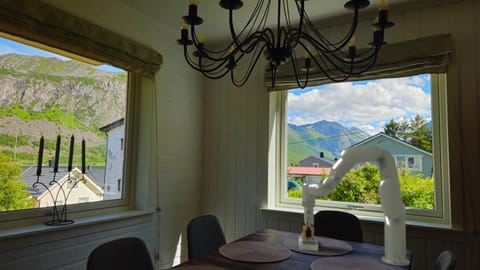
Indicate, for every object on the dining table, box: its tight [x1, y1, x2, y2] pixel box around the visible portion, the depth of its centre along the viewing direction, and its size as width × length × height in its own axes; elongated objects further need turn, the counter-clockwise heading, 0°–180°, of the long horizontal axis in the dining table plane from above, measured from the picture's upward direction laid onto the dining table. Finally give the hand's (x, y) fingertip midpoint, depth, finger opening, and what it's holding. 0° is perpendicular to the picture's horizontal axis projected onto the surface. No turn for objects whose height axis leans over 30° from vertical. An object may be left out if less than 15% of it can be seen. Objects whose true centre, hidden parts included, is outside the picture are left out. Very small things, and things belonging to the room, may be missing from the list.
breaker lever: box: [302, 225, 315, 241], centre depth 181 cm, size 2×6×8 cm, turn 81°
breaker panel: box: [298, 232, 319, 252], centre depth 184 cm, size 20×10×5 cm, turn 171°
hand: (308, 236), depth 181 cm, fingers closed on breaker lever, 2 cm apart
